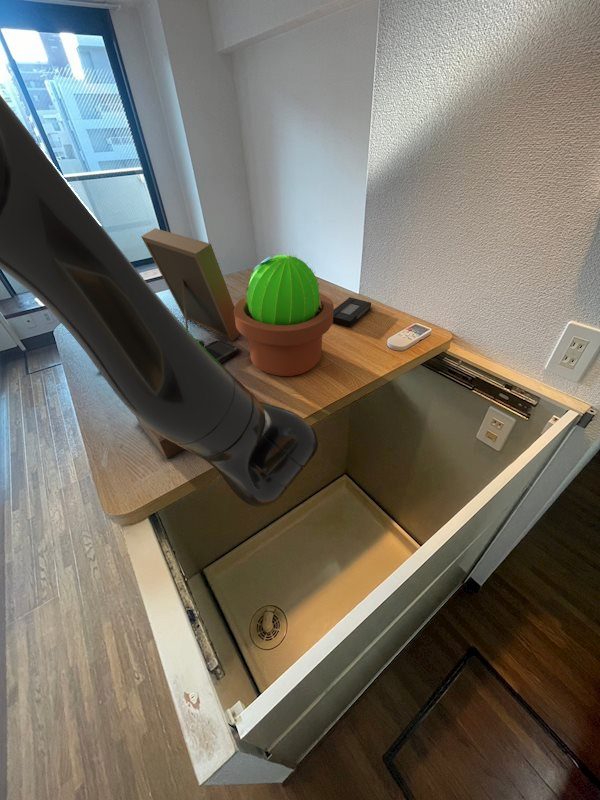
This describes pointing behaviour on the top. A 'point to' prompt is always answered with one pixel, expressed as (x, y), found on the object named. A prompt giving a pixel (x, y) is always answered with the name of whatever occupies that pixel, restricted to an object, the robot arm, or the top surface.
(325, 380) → the top surface
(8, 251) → the robot arm
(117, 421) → the top surface
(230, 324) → the photo frame
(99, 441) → the top surface
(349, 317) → the vhs tape
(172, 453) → the wooden tray
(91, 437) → the top surface
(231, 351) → the phone
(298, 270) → the potted cactus
